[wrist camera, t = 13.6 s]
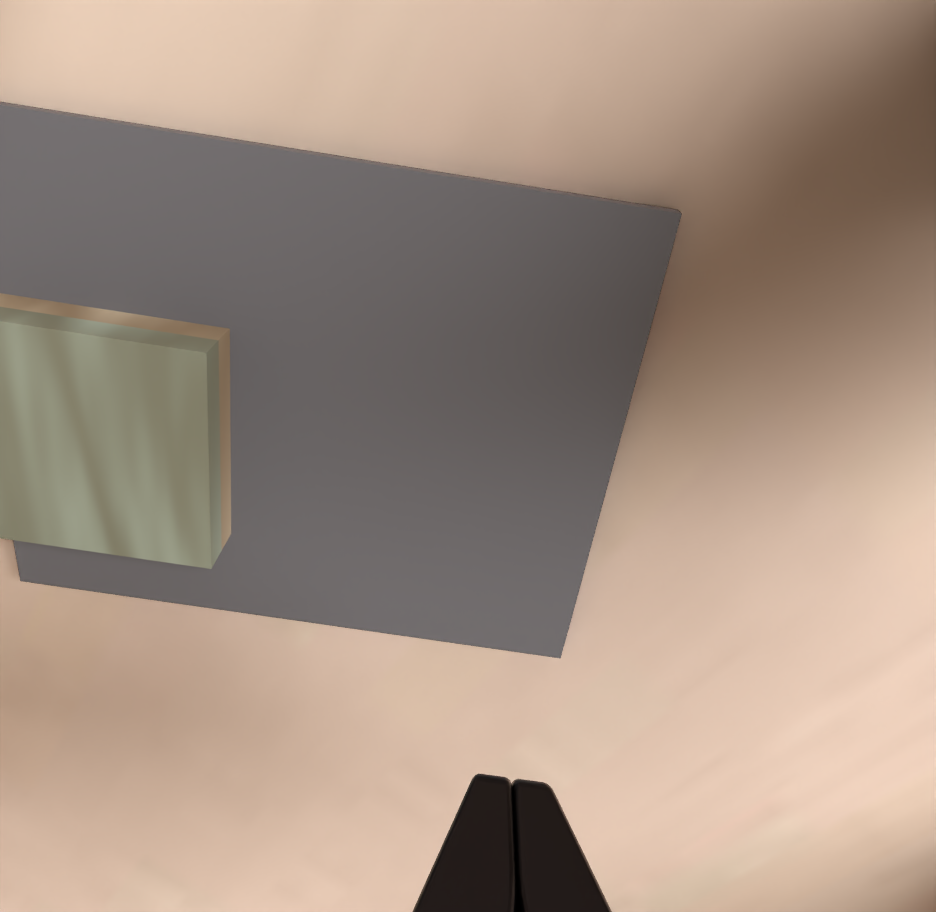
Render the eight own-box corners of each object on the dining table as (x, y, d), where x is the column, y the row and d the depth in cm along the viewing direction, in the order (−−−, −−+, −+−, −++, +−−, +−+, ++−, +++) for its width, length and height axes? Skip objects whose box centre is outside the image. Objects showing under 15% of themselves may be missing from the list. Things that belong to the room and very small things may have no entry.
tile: (206, 352, 17) (-69, 311, 17) (211, 569, 20) (-23, 534, 20) (229, 328, 18) (-24, 289, 18) (231, 533, 21) (12, 501, 21)
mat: (678, 210, 17) (681, 213, 16) (559, 648, 23) (560, 658, 23) (-54, 93, 16) (-67, 94, 16) (27, 572, 23) (20, 581, 22)
